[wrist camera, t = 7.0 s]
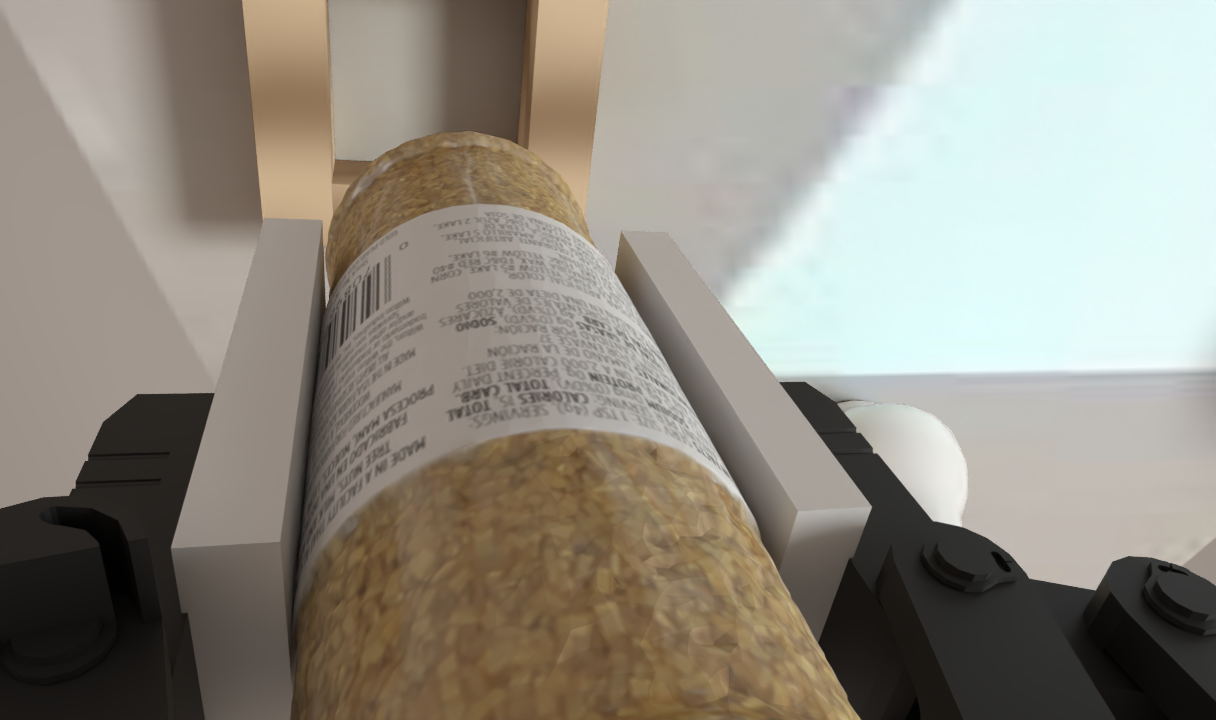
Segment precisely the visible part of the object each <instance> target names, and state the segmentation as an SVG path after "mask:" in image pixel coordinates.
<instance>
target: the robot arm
mask: <svg viewBox="0 0 1216 720" xmlns="http://www.w3.org/2000/svg"><path fill="white" fill-rule="evenodd" d="M615 274H616V275H617V277H618V279H619V280H620V282H621V284H622V285H623V287H624V289H625V291H626V292H627V294H628V296H629V297H630V299H631V301H632V303H633V304H634V306H635V308H636V310H637V311H638V313H639V315H640V317H641V318H642V320H643V322H644V323H645V325H646V326H647V328H648V330H649V332H650V333H651V335H652V337H653V339H654V340H655V342H656V344H657V346H658V347H659V349H660V351H661V353H662V354H663V356H664V358H665V360H666V362H667V364H668V365H669V367H670V369H671V371H672V373H673V374H674V376H675V378H676V380H677V382H678V383H679V385H680V387H681V389H682V391H683V393H684V394H685V396H686V398H687V400H688V401H689V403H690V405H691V407H692V408H693V410H694V412H695V414H696V415H697V417H698V419H699V421H700V422H701V424H702V426H703V428H704V429H705V431H706V433H707V435H708V436H709V438H710V440H711V441H712V443H713V445H714V447H715V448H716V450H717V452H718V454H719V455H720V457H721V459H722V461H723V462H724V464H725V466H726V468H727V469H728V471H729V473H730V475H731V476H732V478H733V480H734V482H735V484H736V485H737V487H738V489H739V491H740V493H741V494H742V496H743V498H744V500H745V502H746V503H747V505H748V507H749V509H750V511H751V512H752V514H753V516H754V518H755V520H756V523H757V525H758V528H759V531H760V534H761V541H762V544H763V546H764V547H765V549H766V550H767V552H768V553H769V555H770V557H771V558H772V560H773V562H774V564H775V566H776V568H777V571H778V573H779V575H780V577H781V579H782V581H783V583H784V584H785V586H786V588H787V589H788V591H789V593H790V595H791V598H792V600H793V601H794V603H795V604H796V605H797V607H798V609H799V610H800V612H801V614H802V616H803V617H804V619H805V621H806V623H807V625H808V626H809V628H810V630H811V632H812V634H813V636H814V638H815V639H816V641H817V643H818V644H819V646H820V648H821V649H822V651H823V652H824V654H825V657H826V660H827V662H828V663H829V665H830V666H831V668H832V669H833V671H834V673H835V675H836V677H837V679H838V681H839V683H840V684H841V686H842V687H843V689H844V691H845V692H846V694H847V698H848V702H849V703H850V705H851V707H852V708H853V710H854V711H855V712H856V714H857V715H858V716H859V717H860V719H861V720H1216V586H1215V585H1214V584H1212V583H1211V582H1209V581H1208V580H1206V579H1204V578H1202V577H1200V576H1198V575H1196V574H1194V573H1192V572H1190V571H1189V570H1188V569H1186V568H1184V567H1181V566H1178V565H1176V564H1173V563H1168V562H1165V561H1161V560H1158V559H1154V558H1148V557H1133V556H1128V557H1125V558H1122V559H1119V560H1116V561H1113V562H1112V564H1111V565H1110V567H1109V569H1108V571H1107V572H1106V574H1105V576H1104V577H1103V579H1102V581H1101V583H1100V584H1099V586H1098V588H1097V590H1096V591H1095V590H1089V589H1084V588H1078V587H1073V586H1067V585H1061V584H1056V583H1050V582H1045V581H1039V580H1033V579H1029V578H1028V576H1027V574H1026V573H1025V572H1024V571H1023V569H1022V568H1021V567H1020V566H1019V565H1018V564H1017V562H1016V561H1015V560H1014V559H1013V558H1012V557H1011V555H1010V554H1008V553H1007V552H1006V551H1004V550H1003V549H1001V548H1000V547H999V546H997V545H996V544H994V543H993V542H992V541H990V540H989V539H987V538H985V537H983V536H981V535H979V534H976V533H974V532H972V531H970V530H968V529H965V528H963V527H960V526H955V525H951V524H946V523H942V522H937V521H933V520H932V519H931V518H930V517H929V516H928V514H927V513H926V512H925V511H924V510H923V508H922V507H921V506H920V505H919V503H918V502H917V501H916V500H915V499H914V497H913V496H912V495H911V494H910V492H909V491H908V490H907V489H906V488H905V486H904V485H903V484H902V483H901V481H900V480H899V479H898V478H897V477H896V475H895V474H894V473H893V472H892V470H891V469H890V468H889V467H888V466H887V464H886V463H885V462H884V461H883V459H882V458H881V457H880V456H879V455H878V453H873V447H872V446H871V445H870V444H869V442H868V441H867V440H866V439H865V438H864V436H863V435H862V434H861V433H857V432H856V427H855V425H854V424H853V423H852V422H851V420H850V419H849V418H848V417H847V416H846V414H845V413H844V412H843V411H842V409H841V408H840V407H839V406H838V405H837V403H835V402H834V401H832V400H831V399H829V398H828V397H826V396H825V395H824V394H822V393H821V392H819V391H818V390H816V389H815V388H813V387H812V386H810V385H809V384H807V383H806V382H778V380H777V379H776V377H775V376H774V375H773V373H772V372H771V371H770V369H769V368H768V367H767V365H766V364H765V363H764V361H763V360H762V359H761V357H760V356H759V355H758V353H757V352H756V351H755V349H754V348H753V347H752V345H751V344H750V343H749V341H748V340H747V339H746V337H745V336H744V335H743V333H742V332H741V331H740V329H739V328H738V327H737V325H736V324H735V323H734V321H733V320H732V319H731V317H730V316H729V314H728V313H727V312H726V310H725V309H724V308H723V306H722V305H721V304H720V302H719V301H718V300H717V298H716V297H715V296H714V294H713V293H712V292H711V290H710V289H709V288H708V286H707V285H706V284H705V282H704V281H703V280H702V278H701V277H700V276H699V274H698V273H697V272H696V270H695V269H694V268H693V266H692V265H691V264H690V262H689V261H688V260H687V258H686V257H685V256H684V254H683V253H682V251H681V250H680V249H679V247H678V246H677V245H676V243H675V242H674V241H673V239H672V238H671V237H670V235H669V234H668V233H665V232H638V231H621V235H620V242H619V248H618V255H617V262H616V268H615ZM325 310H326V303H325V277H324V251H323V225H322V220H310V219H283V218H264V222H263V225H262V229H261V232H260V236H259V239H258V243H257V246H256V250H255V254H254V257H253V261H252V264H251V268H250V271H249V275H248V278H247V282H246V285H245V289H244V292H243V296H242V299H241V303H240V306H239V310H238V313H237V317H236V320H235V324H234V327H233V331H232V334H231V338H230V342H229V345H228V349H227V352H226V356H225V359H224V363H223V366H222V370H221V373H220V377H219V380H218V384H217V387H216V391H215V393H198V394H197V393H194V394H193V393H190V394H137V395H136V396H135V397H133V398H132V399H131V400H130V401H128V402H127V403H126V404H125V405H124V406H122V407H121V408H120V409H119V410H117V411H116V412H115V413H114V414H112V415H111V416H110V417H109V418H108V419H106V420H105V421H104V422H103V424H102V426H101V428H100V430H99V432H98V435H97V437H96V439H95V441H94V443H93V445H92V448H91V450H90V452H89V454H88V461H85V463H84V465H83V467H82V469H81V471H80V473H79V476H78V478H77V480H76V488H75V489H72V491H71V493H70V495H69V496H61V497H44V498H39V499H36V500H32V501H28V502H24V503H20V504H16V505H13V506H9V507H5V508H1V509H0V720H290V716H291V704H292V698H293V692H294V682H295V665H296V658H295V652H294V647H293V641H292V618H293V604H294V595H295V586H296V577H297V566H298V554H299V543H300V531H301V520H302V508H303V499H304V490H305V478H306V466H307V455H308V445H309V435H310V427H311V419H312V411H313V402H314V392H315V382H316V372H317V362H318V352H319V342H320V333H321V327H322V322H323V317H324V313H325Z"/></svg>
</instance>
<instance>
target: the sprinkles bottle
mask: <svg viewBox="0 0 1216 720" xmlns="http://www.w3.org/2000/svg"><path fill="white" fill-rule="evenodd" d="M325 260H326V270H327V277H328V282H329V286H330V292H329V301H328V304H327V307H326V310H325V313H324V317H323V322H322V327H321V333H320V342H319V352H318V362H317V372H316V382H315V392H314V402H313V411H312V419H311V427H310V435H309V445H308V455H307V466H306V478H305V490H304V499H303V508H302V520H301V531H300V543H299V554H298V566H297V577H296V586H295V595H294V604H293V618H292V641H293V647H294V652H295V658H296V665H295V682H294V692H293V698H292V704H291V716H290V720H861V719H860V717H859V716H858V715H857V714H856V712H855V711H854V710H853V708H852V707H851V705H850V703H849V702H848V698H847V694H846V692H845V691H844V689H843V687H842V686H841V684H840V683H839V681H838V679H837V677H836V675H835V673H834V671H833V669H832V668H831V666H830V665H829V663H828V662H827V660H826V657H825V654H824V652H823V651H822V649H821V648H820V646H819V644H818V643H817V641H816V639H815V638H814V636H813V634H812V632H811V630H810V628H809V626H808V625H807V623H806V621H805V619H804V617H803V616H802V614H801V612H800V610H799V609H798V607H797V605H796V604H795V603H794V601H793V600H792V598H791V595H790V593H789V591H788V589H787V588H786V586H785V584H784V583H783V581H782V579H781V577H780V575H779V573H778V571H777V568H776V566H775V564H774V562H773V560H772V558H771V557H770V555H769V553H768V552H767V550H766V549H765V547H764V546H763V544H762V541H761V534H760V531H759V528H758V525H757V523H756V520H755V518H754V516H753V514H752V512H751V511H750V509H749V507H748V505H747V503H746V502H745V500H744V498H743V496H742V494H741V493H740V491H739V489H738V487H737V485H736V484H735V482H734V480H733V478H732V476H731V475H730V473H729V471H728V469H727V468H726V466H725V464H724V462H723V461H722V459H721V457H720V455H719V454H718V452H717V450H716V448H715V447H714V445H713V443H712V441H711V440H710V438H709V436H708V435H707V433H706V431H705V429H704V428H703V426H702V424H701V422H700V421H699V419H698V417H697V415H696V414H695V412H694V410H693V408H692V407H691V405H690V403H689V401H688V400H687V398H686V396H685V394H684V393H683V391H682V389H681V387H680V385H679V383H678V382H677V380H676V378H675V376H674V374H673V373H672V371H671V369H670V367H669V365H668V364H667V362H666V360H665V358H664V356H663V354H662V353H661V351H660V349H659V347H658V346H657V344H656V342H655V340H654V339H653V337H652V335H651V333H650V332H649V330H648V328H647V326H646V325H645V323H644V322H643V320H642V318H641V317H640V315H639V313H638V311H637V310H636V308H635V306H634V304H633V303H632V301H631V299H630V297H629V296H628V294H627V292H626V291H625V289H624V287H623V285H622V284H621V282H620V280H619V279H618V277H617V275H616V274H615V272H614V271H613V269H612V268H611V266H610V264H609V263H608V261H607V260H606V259H605V258H604V257H603V256H602V255H601V253H600V252H599V251H598V249H597V248H596V247H595V245H594V243H593V241H592V239H591V237H590V236H589V231H588V227H587V224H586V221H585V218H584V215H583V212H582V209H581V208H580V206H579V205H578V203H577V201H576V199H575V198H574V196H573V194H572V192H571V190H570V188H569V186H568V184H567V183H566V181H565V180H564V178H563V177H562V175H560V174H559V173H558V172H557V171H555V170H554V169H553V168H551V167H550V166H548V165H547V164H546V163H545V162H544V161H543V160H542V159H541V158H540V157H539V156H538V155H536V154H534V153H533V152H531V151H529V150H527V149H525V148H523V147H521V146H519V145H517V144H515V143H513V142H512V141H510V140H507V139H503V138H500V137H496V136H491V135H486V134H482V133H478V132H473V131H470V130H469V131H463V132H445V133H437V134H433V135H429V136H426V137H423V138H419V139H414V140H411V141H408V142H405V143H403V144H402V145H400V146H398V147H397V148H395V149H392V150H390V151H388V152H386V153H384V154H383V155H381V156H380V157H378V158H377V159H376V160H374V161H373V162H371V163H370V164H369V165H368V166H367V167H366V168H365V169H364V170H363V171H362V172H361V174H360V176H359V177H358V178H357V179H356V180H355V181H354V182H353V183H352V184H351V185H350V186H349V188H348V189H347V191H346V193H345V195H344V197H343V200H342V202H341V203H340V205H339V206H338V208H337V209H336V210H335V212H334V214H333V217H332V220H331V224H330V226H329V231H328V242H327V248H326V255H325Z"/></svg>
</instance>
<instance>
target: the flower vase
mask: <svg viewBox="0 0 1216 720" xmlns="http://www.w3.org/2000/svg"><path fill="white" fill-rule="evenodd" d="M837 405H838V406H839V407H840V408H841V409H842V411H843V412H844V413H845V414H846V416H847V417H848V418H849V419H850V420H851V422H852V423H853V424H854V425H855V427H856V432H857V433H861V434H862V435H863V436H864V438H865V439H866V440H867V441H868V442H869V444H870V445H871V446H872V447H873V453H878V455H879V456H880V457H881V458H882V459H883V461H884V462H885V463H886V464H887V466H888V467H889V468H890V469H891V470H892V472H893V473H894V474H895V475H896V477H897V478H898V479H899V480H900V481H901V483H902V484H903V485H904V486H905V488H906V489H907V490H908V491H909V492H910V494H911V495H912V496H913V497H914V499H915V500H916V501H917V502H918V503H919V505H920V506H921V507H922V508H923V510H924V511H925V512H926V513H927V514H928V516H929V517H930V518H931V519H932V520H933V521H937V522H942V523H946V524H951V525H955V526H960V527H962V522H961V519H962V516H963V513H964V509H965V505H966V501H967V496H968V487H969V484H968V472H967V463H966V459H965V456H964V454H963V452H962V450H961V448H960V446H959V444H958V442H957V440H956V438H955V436H954V434H953V433H952V431H951V430H950V429H949V428H948V427H947V426H946V425H945V424H944V423H943V422H941V421H940V420H939V419H938V418H937V417H935V416H934V415H933V414H931V413H929V412H927V411H924V410H921V409H919V408H916V407H913V406H910V405H906V404H893V403H872V402H869V401H857V400H852V401H847V402H841V403H837Z"/></svg>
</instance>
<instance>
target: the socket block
mask: <svg viewBox="0 0 1216 720" xmlns="http://www.w3.org/2000/svg"><path fill="white" fill-rule="evenodd" d="M608 4H609V0H527V7H526V22H525V38H524V53H523V69H522V84H521V99H520V115H519V130H518V145H519V146H521V147H523V148H525V149H527V150H529V151H531V152H533V153H534V154H536V155H538V156H539V157H540V158H541V159H542V160H543V161H544V162H545V163H546V164H547V165H548V166H550V167H551V168H553V169H554V170H555V171H557V172H558V173H559V174H560V175H562V177H563V178H564V180H565V181H566V183H567V184H568V186H569V188H570V190H571V192H572V194H573V196H574V198H575V199H576V201H577V203H578V205H579V206H580V208H581V209H582V212H583V215H584V218H585V211H586V202H587V193H588V184H589V175H590V166H591V157H592V148H593V139H594V130H595V121H596V112H597V103H598V94H599V85H600V76H601V67H602V58H603V49H604V40H605V31H606V22H607V13H608ZM242 5H243V15H244V26H245V37H246V47H247V58H248V69H249V79H250V90H251V101H252V111H253V122H254V132H255V143H256V154H257V164H258V175H259V186H260V196H261V207H262V218H263V222H264V218H283V219H310V220H322V225H323V246H327V242H328V231H329V226H330V224H331V220H332V217H333V214H334V212H335V210H336V209H337V208H338V206H339V205H340V203H341V202H342V200H343V197H344V195H345V193H346V191H347V189H348V188H349V186H350V185H351V184H352V183H353V182H354V181H355V180H356V179H357V178H358V177H359V176H360V174H361V172H362V171H363V170H364V169H365V168H366V167H367V166H368V165H369V164H370V163H371V161H348V160H335V148H334V126H333V105H332V83H331V61H330V40H329V18H328V0H242Z"/></svg>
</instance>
